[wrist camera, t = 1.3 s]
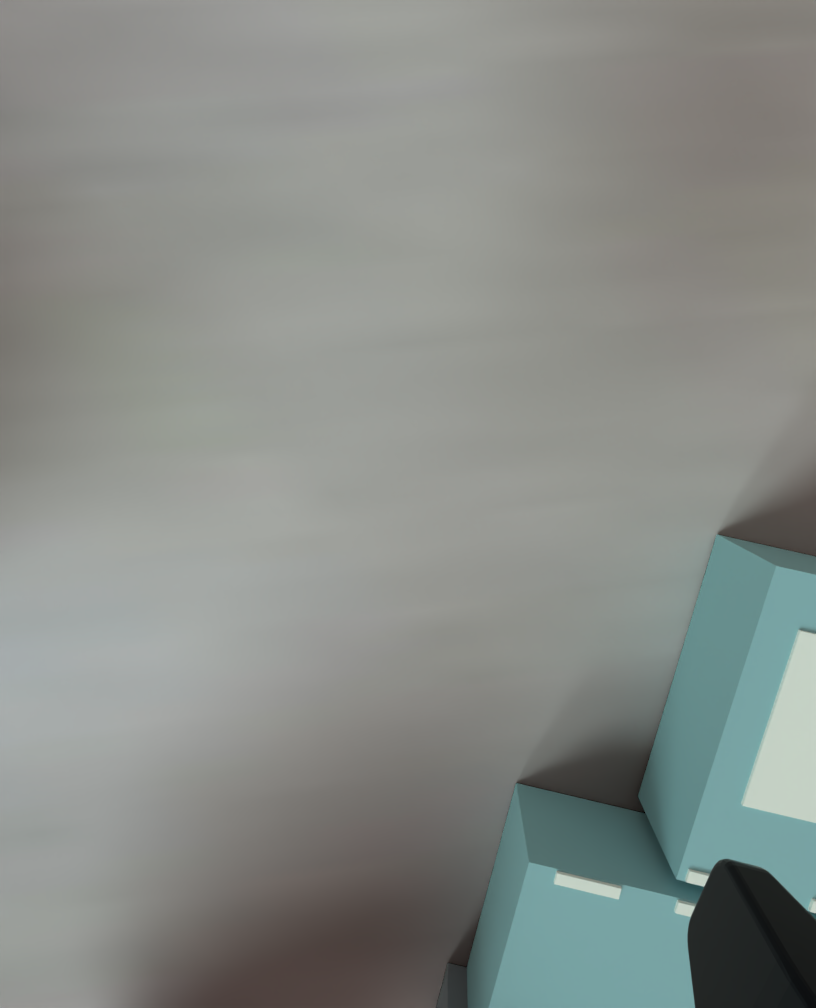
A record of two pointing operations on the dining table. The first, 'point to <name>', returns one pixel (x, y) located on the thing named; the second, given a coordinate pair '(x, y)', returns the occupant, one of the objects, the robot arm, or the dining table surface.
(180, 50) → the dining table surface
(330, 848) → the dining table surface
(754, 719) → the teal labeled box
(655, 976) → the teal tabbed box
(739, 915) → the robot arm
